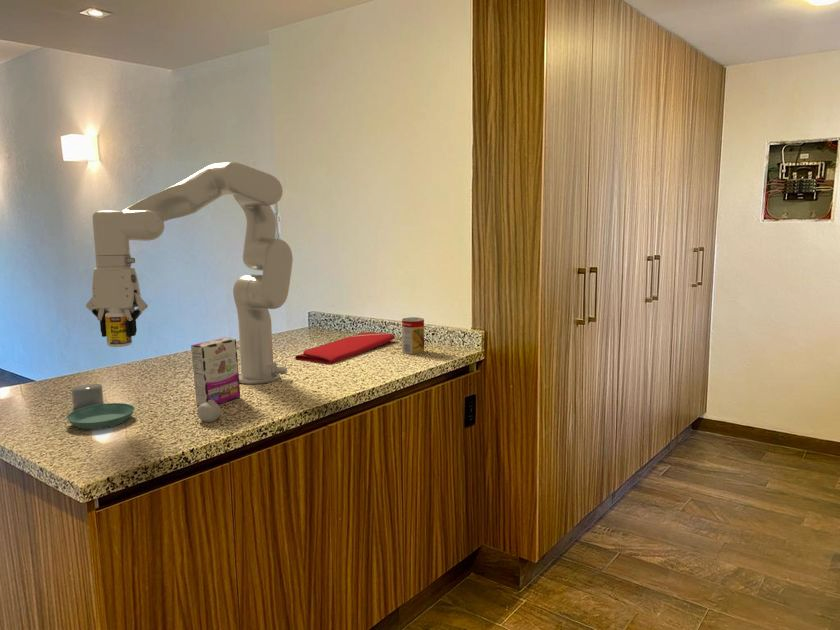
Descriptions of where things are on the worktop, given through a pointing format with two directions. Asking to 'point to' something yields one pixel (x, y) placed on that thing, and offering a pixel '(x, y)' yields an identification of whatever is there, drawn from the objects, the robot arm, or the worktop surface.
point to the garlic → (209, 411)
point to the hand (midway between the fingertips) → (119, 335)
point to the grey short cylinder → (87, 395)
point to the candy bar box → (216, 371)
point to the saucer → (100, 415)
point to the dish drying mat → (345, 347)
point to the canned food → (413, 335)
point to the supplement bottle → (116, 328)
